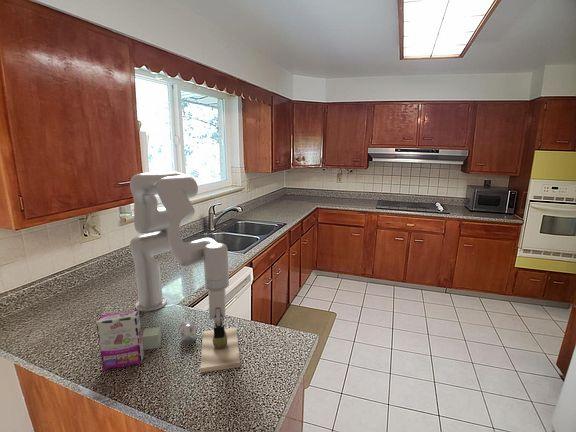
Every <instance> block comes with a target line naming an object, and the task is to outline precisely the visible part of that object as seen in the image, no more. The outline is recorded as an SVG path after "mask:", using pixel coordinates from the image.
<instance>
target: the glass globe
mask: <svg viewBox="0 0 576 432" xmlns="http://www.w3.org/2000/svg"><path fill="white" fill-rule="evenodd" d="M179 331H180V342H181V344H183V345H191V344H193V343H194V342H196V340H197V337H196V333H197V332H196V323H195V322H194V321H192V320H188V321H183V322H182V323H180V325H179Z"/></svg>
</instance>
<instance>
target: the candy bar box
mask: <svg viewBox="0 0 576 432" xmlns="http://www.w3.org/2000/svg"><path fill="white" fill-rule="evenodd" d="M96 330H97V337H98V342H99V343H98V344H99V351H100V356H101V363H102V364H101V365H102V369H103V371H107V370H114V369H119V368H124V367H131V366H135V365H142V363H143V359H144V356H145V350H144V349H143V341H142V336H143V334H142V326H141V319H140V311H139V310H137V309H136V310H131V311H123V312H114V313H107V314H101V315H99V318H98V319H97V321H96Z"/></svg>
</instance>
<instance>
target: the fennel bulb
mask: <svg viewBox="0 0 576 432" xmlns="http://www.w3.org/2000/svg"><path fill="white" fill-rule="evenodd" d="M220 317H222V315H220ZM220 322H221V319H220ZM225 329H226V328H224V335H225V337H223V338H214V336H213V340H212V342H213V345H214V346H215V347H216V348H218V349H221V348H223V347H224V346H226V344H227V335H226V332H225Z"/></svg>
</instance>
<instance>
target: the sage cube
mask: <svg viewBox="0 0 576 432" xmlns="http://www.w3.org/2000/svg"><path fill="white" fill-rule="evenodd" d="M161 331H162V330H161V326H158V327H157V326H156V327H149V328H144V331H143V334H142V341H143V349H144V351H145V350H153V349H159V348H160V346H161V343H162V332H161Z"/></svg>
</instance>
